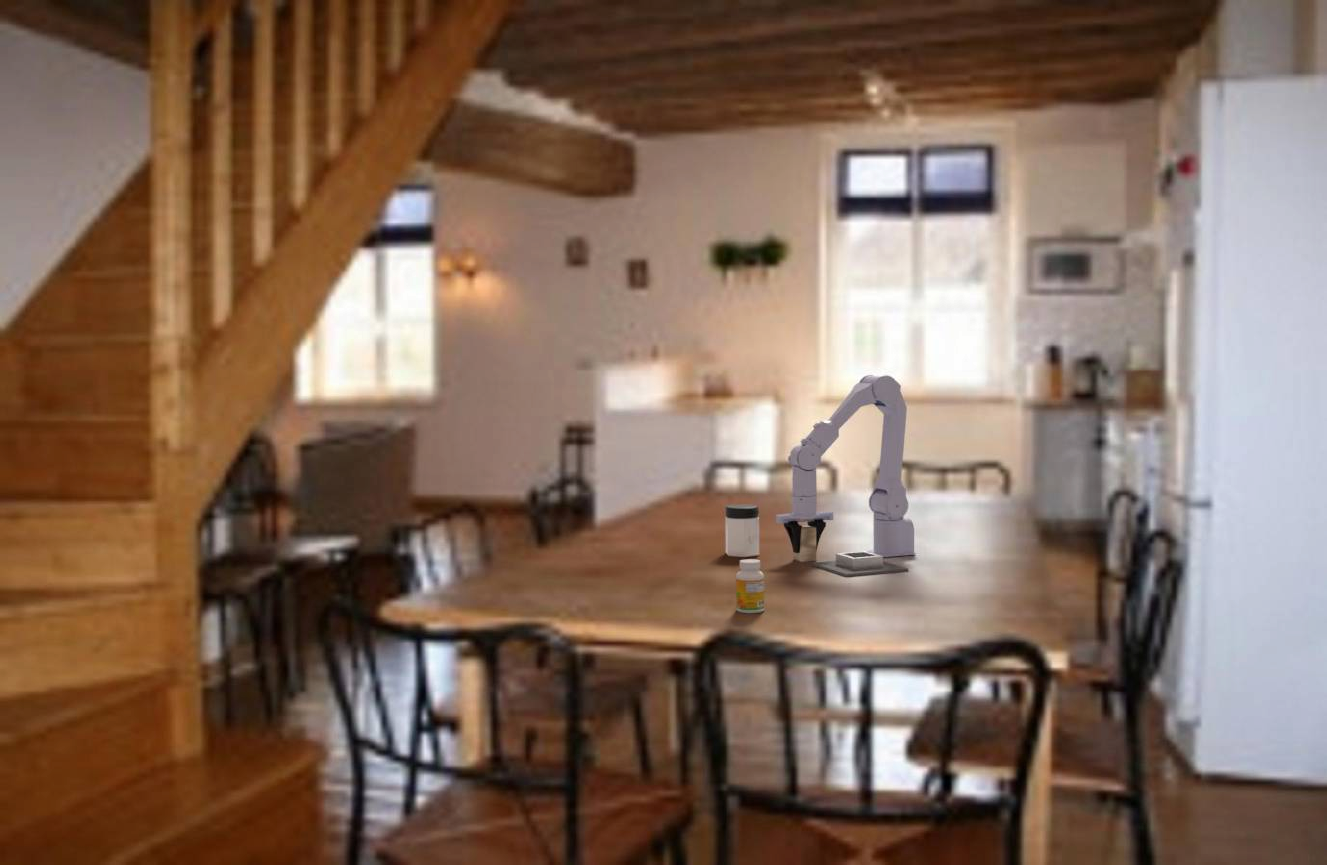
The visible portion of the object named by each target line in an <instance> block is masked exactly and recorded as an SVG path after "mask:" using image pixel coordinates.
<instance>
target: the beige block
mask: <svg viewBox="0 0 1327 865" xmlns="http://www.w3.org/2000/svg"><path fill="white" fill-rule="evenodd" d="M801 526H802V529H801V535H800V553H795V552H793V560H794V561H797V562H800V563H805V562H807V563H808V562H816V561H817V551H816V527H812V526H809V525H808V524H807V525H801Z"/></svg>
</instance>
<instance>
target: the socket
mask: <svg viewBox="0 0 1327 865" xmlns="http://www.w3.org/2000/svg"><path fill="white" fill-rule="evenodd" d="M867 551H868V550H861V551H850V552H839V553H837V552H836V553H835V561H836V564H837V565H840V566H843V567H846V568H849V569H852V570H856V569H867V568H878V567H883V561H884V557H883V556H881V555H877V554H874V553H870V552H867Z"/></svg>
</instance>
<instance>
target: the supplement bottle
mask: <svg viewBox="0 0 1327 865" xmlns="http://www.w3.org/2000/svg"><path fill="white" fill-rule="evenodd" d="M739 569H740V571H738V572H737V573H736V575H735V584H736V586H735V587H736V588H735V592H736V594H735V596H736V597H735V598H736V603H735V604H736V605H735V606H736V608H735V609H736V611H737V612H739V613H744V614H758V613H762V612H764V611H765V575H764V573H763V571H761V570H760V569H761V560H759V559H754V558H749V559H748V558H747V559H741V560H739Z"/></svg>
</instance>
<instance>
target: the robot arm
mask: <svg viewBox="0 0 1327 865" xmlns="http://www.w3.org/2000/svg"><path fill="white" fill-rule="evenodd" d="M901 388H902V386H901V384H900V383H899V382H898V381H897V380H896V379H895V378H894V377H892V376H890V375H887V374H885V375H873V374H867V375H865V376H863V377H862V378H861V379H860V380H859V382H857V383H856V384H855V385H853V388H852V390H851V391H850V393H848V395H847V396H846V398H844V400H843V401H842V402H841V404H840V405H839V406H838V407H837V408H836V409H835V411H834V412H833V414H832V415H831V416H830V417H829V419H827V420H820V422H815V423H814V425H812V428H813V429H812V431H810V433H809V434H808V435H807V436H806V437H804V438H802V439H801V441H800V444H798V445H795V446H794V447H793V448H792V449H791V450H790V454H789V455H788V457H787V459H788V463H789V464H790V465H791V467H792V477H791V478H792V512H791V513H789V512H788V513H783V514H776V515H775V523H776V524H778V525H782V524H783V527H784V529H785V531H786V533H787V535H788V537H789V540H790V543H791V546H792V552H793V553H794V552H795V553H800V535H801V529H802V526H803V525H800V523H805V522H806V523H807V525H809V526H812V527H816V552H817V551H818V547H819V542H820V539H821V537H822V534H823V532H824V530H825V528H826V526H827V522H826V521H834V512H833V511H830V510H829V511H827V510H826V511H817V509H818V507H817V506H818V505H817V503H818V502H817V500H818V498H817V497H818V496H817V493H818V492H817V485H818V482H817V468H818V467H819V466H820V465H821V462H822V457H823V455H825V453H826V452H827V451H828V449H829V448H830V447H831V446H832V445H833V444H834V443H835V442H836V440H837V439H839V437H840V436H839V435H840V432H839V431H840V429H841V428H842V427H843V426H844V425H845V424H846V423H847V422H848V420H850V419H851V418H852V417H853V416H854V414H855V413H857V412H858V410H860V409H861V407H864V406H865V407H866V406H868V405H869V406H870V405H874V406H875V407H876V408H877V409H878V410H879V412H881V413H882V414H883V420H882V421H883V423H882V433H881V445H880V446H881V447H880V455H879V456H880V457H879V458H880V459H879V470H878V478H877V480H876V481H875V482H874V484H873V490H872V492H871V493H870V496H869V499H868V507H869V509H870V510H871V512H873V549H872V550H871V549H870V550H866V551H867V552H870V553H874V554H877V555H881V556H883V558H891V557H892V558H893V557H902V556H915V555H917V552H915V527H914V523H913V521H912V520H911V519H910V518H909V517H905V515H906V514H907V512H908V510H909V500H908V499H907V488H906V487H905V484H904V483H903V481H902V472H903V461H904V460H903V459H904V449H905V448H904V445H905V434H906V424H907V423H906V421H907V412H908V410H907V404H906V402H905V400H904V397H903V394H902V391H901V390H902V389H901Z"/></svg>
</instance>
